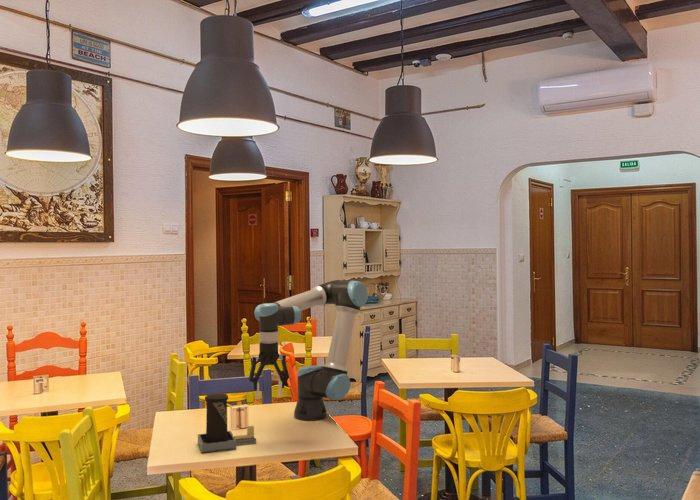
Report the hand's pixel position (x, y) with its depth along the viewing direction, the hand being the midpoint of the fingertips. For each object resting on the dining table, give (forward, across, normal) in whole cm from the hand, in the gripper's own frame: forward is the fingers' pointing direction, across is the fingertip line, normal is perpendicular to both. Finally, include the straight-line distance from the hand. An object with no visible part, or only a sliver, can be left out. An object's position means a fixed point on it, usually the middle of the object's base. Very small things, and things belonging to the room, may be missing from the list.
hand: (268, 397), depth 249 cm
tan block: (+16, +10, 0) cm, 19 cm away
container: (+17, +21, 0) cm, 27 cm away
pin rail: (+17, +10, 0) cm, 20 cm away
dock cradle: (+17, +21, 0) cm, 27 cm away
